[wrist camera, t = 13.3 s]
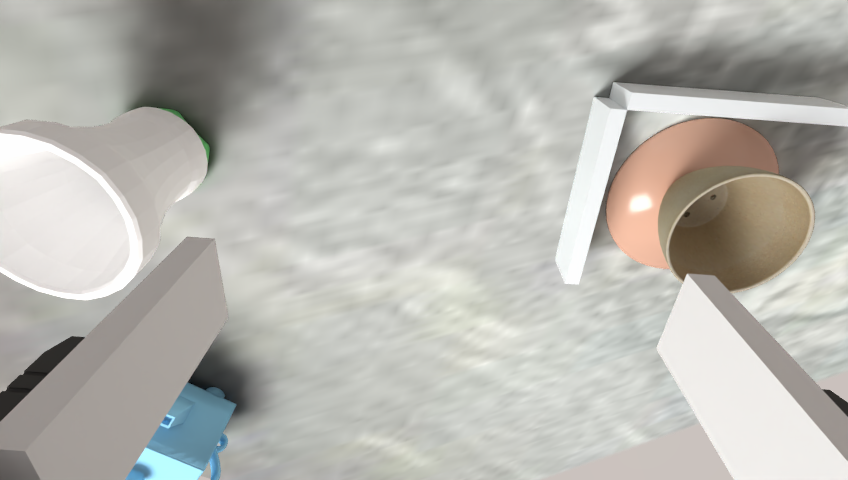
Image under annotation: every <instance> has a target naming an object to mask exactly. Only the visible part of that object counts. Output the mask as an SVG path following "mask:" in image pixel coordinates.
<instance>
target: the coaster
mask: <svg viewBox="0 0 848 480" xmlns="http://www.w3.org/2000/svg"><path fill="white" fill-rule="evenodd" d="M716 166H743V167H751V168H756V169H761V170H766V171H769V172H773V173H776V174H779V167H778V162H777V158H776V156H775V153H774V151H773V149H772V147H771V146H770V144H769V143H768V141H767V140H766V139H765V138H764V137H763V136H762V135H761V134H760V133H758V132H757V131H756V130H754V129H753V128H751V127H749V126H747V125H744V124H742V123H740V122H737V121H733V120H730V119H723V118H701V119H694V120H690V121H685V122H682V123H679V124H676V125H674V126H671V127H669V128H667V129H665V130H663V131H661V132H659V133H657V134H656V135H654V136H652V137H651V138H649V139H648V140H647V141H645V142H644V143H643V144H641V145H640V146H639V147H638V148H637V149H636V150H635V151H634V152H633V153H632V154H631V155H630V156H629V157H628V158H627V159H626V161H625V162H624V163H623V164H622V166H621V167H620V169H619V170H618V172H617V173H616V175H615V177H614V179H613V181H612V184H611V186H610V189H609V192H608V197H607V201H606V221H607V225H608V229H609V231H610V233H611V236H612V238H613V239H614V241H615V242H616V244H617V245H618V246H619V248H620V249H621V250H622V251H623V252H624V253H625V254H627V255H628V256H629V257H630V258H632V259H634V260H636V261H637V262H640V263H642V264H645V265H648V266H651V267H655V268H663V269H670V268H669V266H668V264H667V262H666V260H665V257H664V255H663V252H662V249H661V245H660V241H659V235H658V215H659V209H660V205H661V202H662V199H663V197H664V195H665V193H666V192H667V190H668V189H669V187H670V186H671V185H672V184H673V183H674V182H675V181H676V180H678V179H679V178H681V177H682V176H684V175H686V174H688V173H691V172H693V171H696V170H699V169H704V168H708V167H716ZM712 196H714V195H712ZM688 215H689V213H688V214H687V216H688Z"/></svg>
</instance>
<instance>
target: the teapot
mask: <svg viewBox="0 0 848 480" xmlns="http://www.w3.org/2000/svg"><path fill="white" fill-rule="evenodd" d="M224 397H225V394H224V392H223V391H222V390H220V389H219V388H216V387H209V388H207V389H206V390H204V389H202V388H200V387H197V386H195V385H193V384H191V383H189V382H187V384H186V385H185V387H184V388H183V390H182V391H181V393H180V395H179V396H178V398H177V399H176V401H175V402H174V404H173V405H172V407H171V409H170V410H169V412H168V413H167V415H166V416H165V418H164V420H163V421H162V423H161V424H160V426H159V427H158V429H157V431H156V432H155V434H154V435H153V437H152V438H151V440H150V441H149V443H148V445H147V446H146V448H145V449H144V451H143V452H142V454H141V456H140V457H139V459H138V460H137V462H136V463H135V465H134V466H133V468H132V470H131V471H130V473H129V474H128V476H127V477H126V479H125V480H198V478H199V477H200V476H201V474H202V473H203V472H204V470H205V468H206V466H207V464H208V462H210V466H211V480H219V478H220V473H221V468H220V461H219V457H218V452H221V451H223V450H224V449H225V448H226V446H227V444H228V439H227V436H226V435H225V434H223V432H224V430H225V427H226V425H227V423H228V421H229V419H230V417H231V415H232V413H233V411H234V409H235V407H236V405H237V404H235V403H233V402H231V401H229V400H226V399H224ZM218 442H219V443H220V445H221V446H217V444H218Z"/></svg>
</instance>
